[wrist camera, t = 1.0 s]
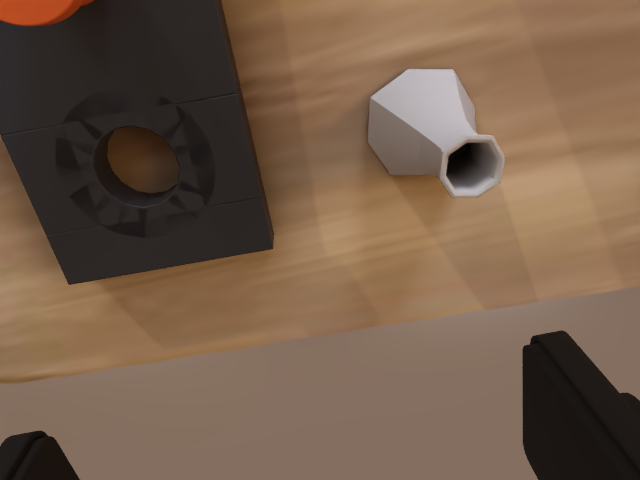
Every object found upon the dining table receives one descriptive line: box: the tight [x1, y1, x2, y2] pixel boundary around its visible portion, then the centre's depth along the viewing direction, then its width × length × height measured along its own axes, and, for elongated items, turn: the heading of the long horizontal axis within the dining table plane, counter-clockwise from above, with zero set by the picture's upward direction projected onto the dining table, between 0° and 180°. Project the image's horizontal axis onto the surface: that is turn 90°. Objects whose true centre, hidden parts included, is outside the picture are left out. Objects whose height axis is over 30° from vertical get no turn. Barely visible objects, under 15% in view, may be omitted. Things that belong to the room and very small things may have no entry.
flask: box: [368, 69, 505, 198], centre depth 27 cm, size 7×7×10 cm
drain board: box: [0, 0, 274, 285], centre depth 28 cm, size 24×14×2 cm, turn 9°
